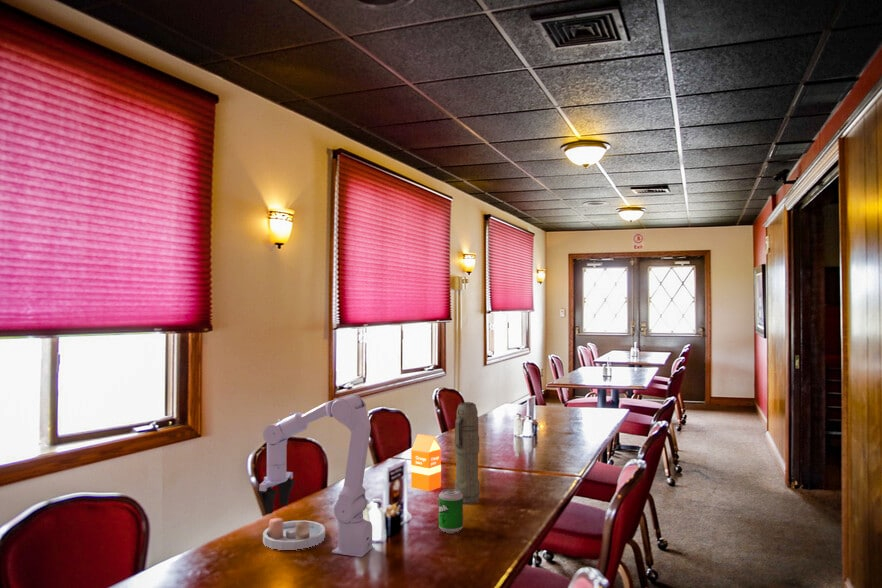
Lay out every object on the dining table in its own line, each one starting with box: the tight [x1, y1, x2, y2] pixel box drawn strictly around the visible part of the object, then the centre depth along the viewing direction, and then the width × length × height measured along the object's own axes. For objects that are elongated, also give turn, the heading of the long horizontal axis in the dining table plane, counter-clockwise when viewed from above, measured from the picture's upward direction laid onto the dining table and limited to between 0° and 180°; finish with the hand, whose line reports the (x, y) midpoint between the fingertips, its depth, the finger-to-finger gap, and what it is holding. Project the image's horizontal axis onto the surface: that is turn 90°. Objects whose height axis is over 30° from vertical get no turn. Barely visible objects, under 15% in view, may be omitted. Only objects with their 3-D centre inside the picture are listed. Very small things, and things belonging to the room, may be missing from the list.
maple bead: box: [296, 520, 310, 540], centre depth 186 cm, size 4×4×5 cm
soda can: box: [438, 488, 464, 534], centre depth 198 cm, size 8×8×12 cm
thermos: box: [454, 401, 481, 505], centre depth 228 cm, size 9×12×35 cm
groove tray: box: [262, 519, 326, 551], centre depth 190 cm, size 18×18×2 cm
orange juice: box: [410, 433, 442, 492], centre depth 245 cm, size 8×9×20 cm
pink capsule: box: [268, 517, 284, 539], centre depth 189 cm, size 4×4×5 cm
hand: (276, 508), depth 190 cm, fingers open, 7 cm apart
